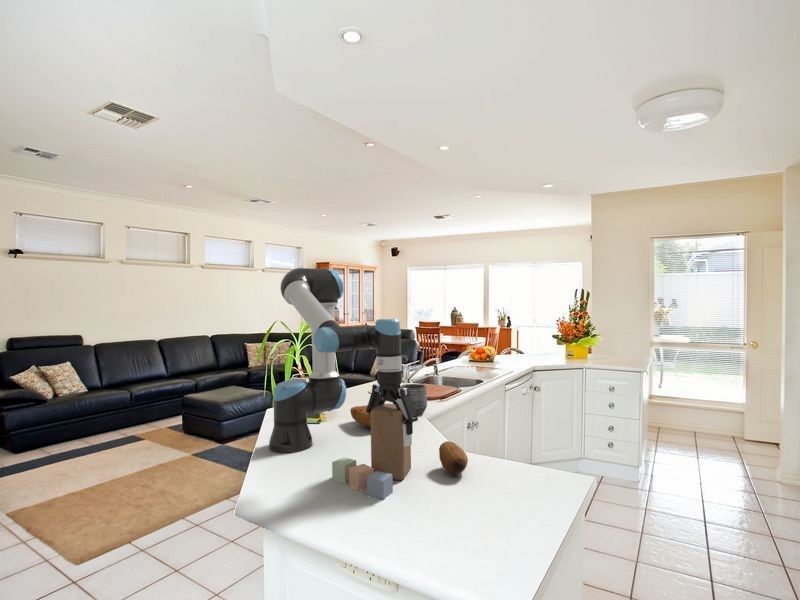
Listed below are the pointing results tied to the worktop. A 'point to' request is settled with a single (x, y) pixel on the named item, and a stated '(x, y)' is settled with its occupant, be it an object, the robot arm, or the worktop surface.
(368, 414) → the bread loaf
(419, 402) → the planter
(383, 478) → the slate cube
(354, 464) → the sage cube
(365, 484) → the terracotta cube
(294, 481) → the worktop surface
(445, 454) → the potato
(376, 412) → the wooden block
